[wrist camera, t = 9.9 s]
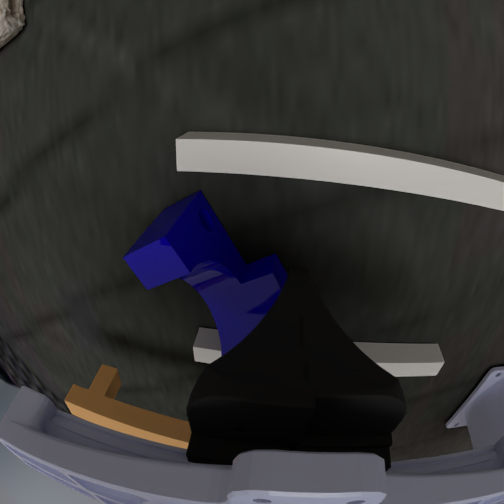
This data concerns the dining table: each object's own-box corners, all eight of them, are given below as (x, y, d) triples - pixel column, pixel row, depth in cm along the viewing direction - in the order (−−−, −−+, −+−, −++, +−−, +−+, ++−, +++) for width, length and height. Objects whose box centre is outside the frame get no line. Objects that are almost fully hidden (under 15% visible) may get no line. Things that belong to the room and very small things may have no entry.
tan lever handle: (267, 380, 17) (257, 459, 13) (261, 396, 18) (251, 469, 14) (99, 337, 18) (62, 402, 13) (103, 355, 19) (71, 417, 14)
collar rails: (504, 175, 11) (521, 187, 10) (409, 391, 19) (412, 408, 17) (188, 131, 12) (175, 139, 11) (205, 379, 20) (200, 397, 19)
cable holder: (310, 315, 16) (308, 379, 13) (249, 332, 17) (236, 393, 14) (231, 174, 13) (203, 217, 9) (164, 209, 14) (122, 257, 11)
